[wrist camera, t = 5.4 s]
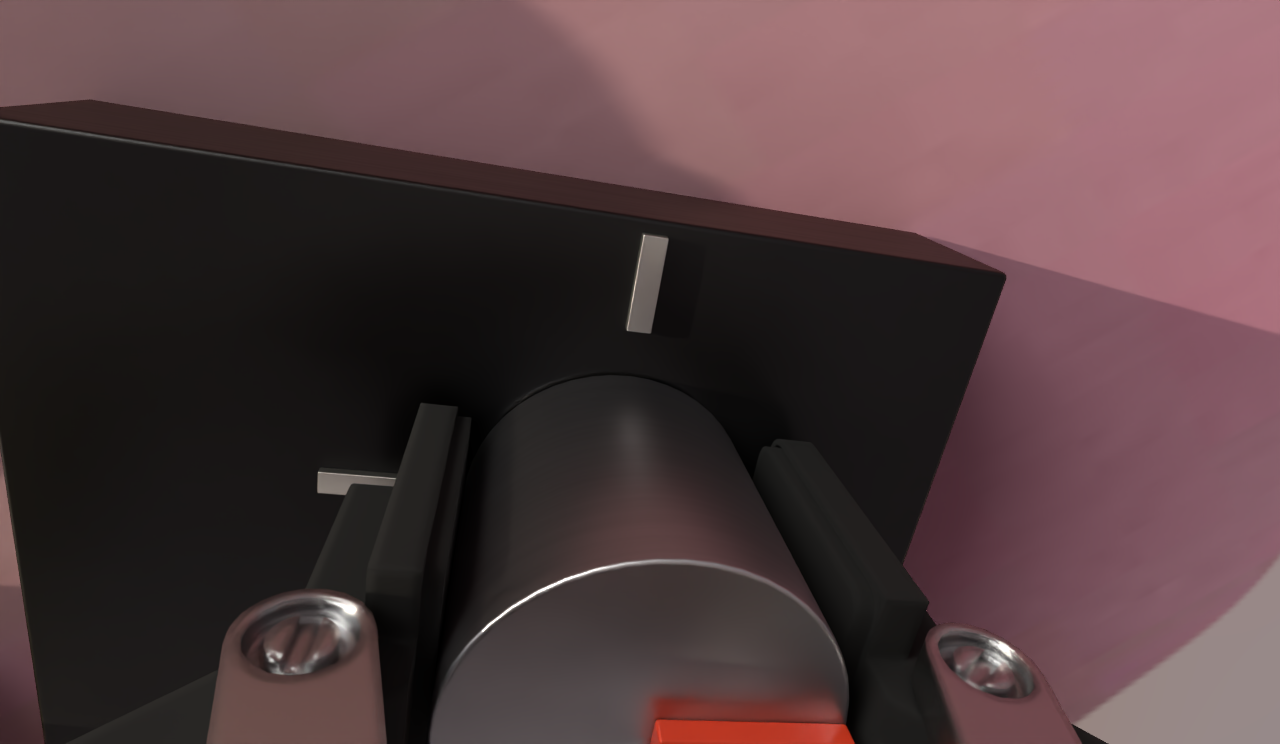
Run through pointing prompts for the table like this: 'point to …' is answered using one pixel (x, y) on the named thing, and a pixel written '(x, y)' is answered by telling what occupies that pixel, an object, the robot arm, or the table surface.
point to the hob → (387, 355)
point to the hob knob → (627, 586)
